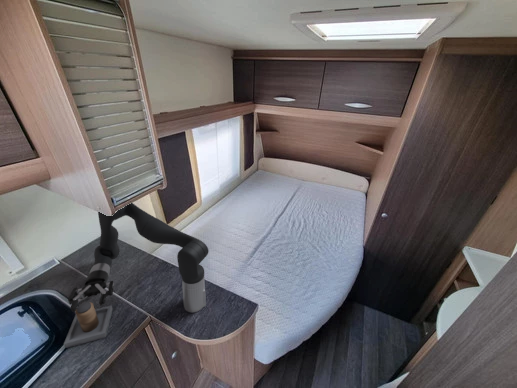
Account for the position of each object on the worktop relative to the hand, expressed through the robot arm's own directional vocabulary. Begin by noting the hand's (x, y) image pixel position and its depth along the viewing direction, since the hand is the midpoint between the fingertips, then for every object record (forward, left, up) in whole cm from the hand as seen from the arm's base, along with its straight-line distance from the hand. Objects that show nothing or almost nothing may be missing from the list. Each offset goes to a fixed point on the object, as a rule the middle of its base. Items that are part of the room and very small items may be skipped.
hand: (87, 307), depth 79 cm
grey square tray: (0, +2, -9) cm, 9 cm away
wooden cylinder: (0, +2, -8) cm, 8 cm away
